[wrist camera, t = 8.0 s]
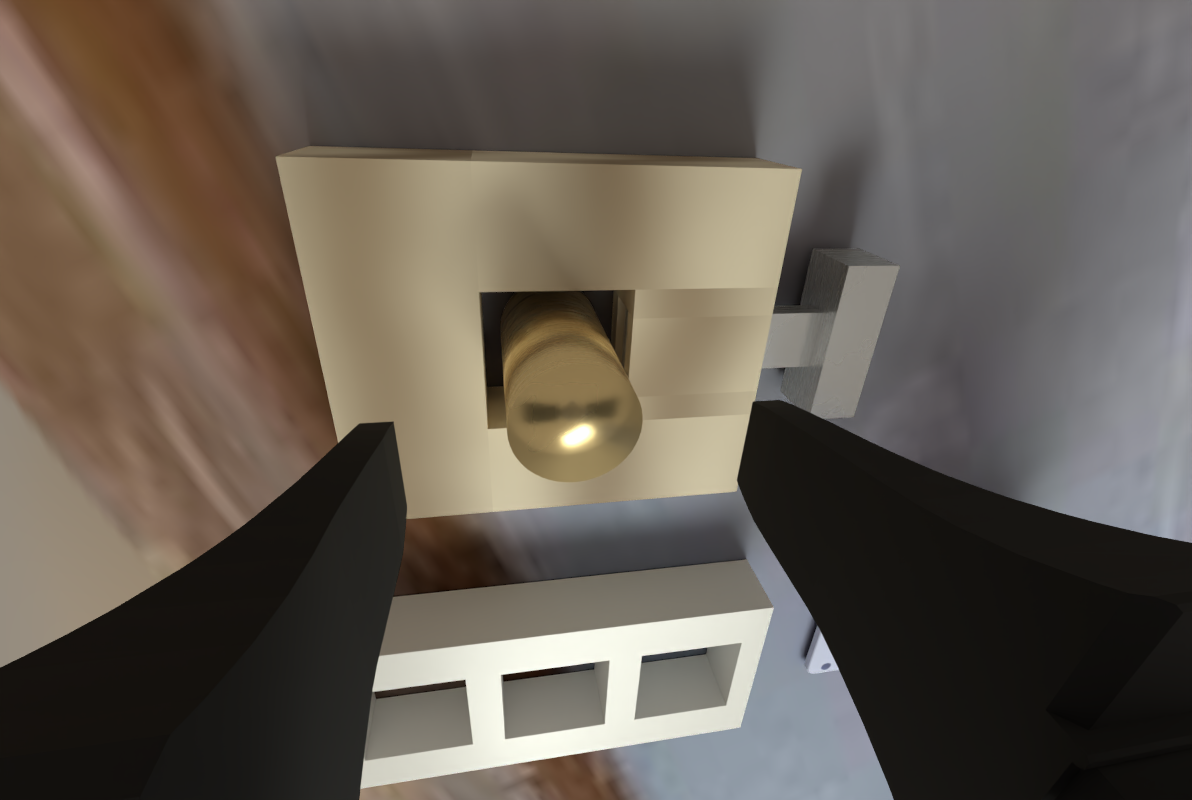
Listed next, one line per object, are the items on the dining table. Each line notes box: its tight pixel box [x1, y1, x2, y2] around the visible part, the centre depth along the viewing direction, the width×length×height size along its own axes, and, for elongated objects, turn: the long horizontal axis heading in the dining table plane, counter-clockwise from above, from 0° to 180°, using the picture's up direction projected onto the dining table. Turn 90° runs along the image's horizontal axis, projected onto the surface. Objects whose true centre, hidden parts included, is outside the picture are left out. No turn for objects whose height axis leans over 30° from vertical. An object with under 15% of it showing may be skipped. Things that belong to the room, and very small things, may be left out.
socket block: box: [275, 146, 802, 519], centre depth 16 cm, size 12×10×3 cm
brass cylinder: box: [500, 291, 643, 482], centre depth 15 cm, size 3×3×6 cm
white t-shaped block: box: [622, 248, 900, 419], centre depth 17 cm, size 8×5×2 cm, turn 87°
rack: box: [360, 560, 774, 789], centre depth 23 cm, size 17×8×3 cm, turn 87°
